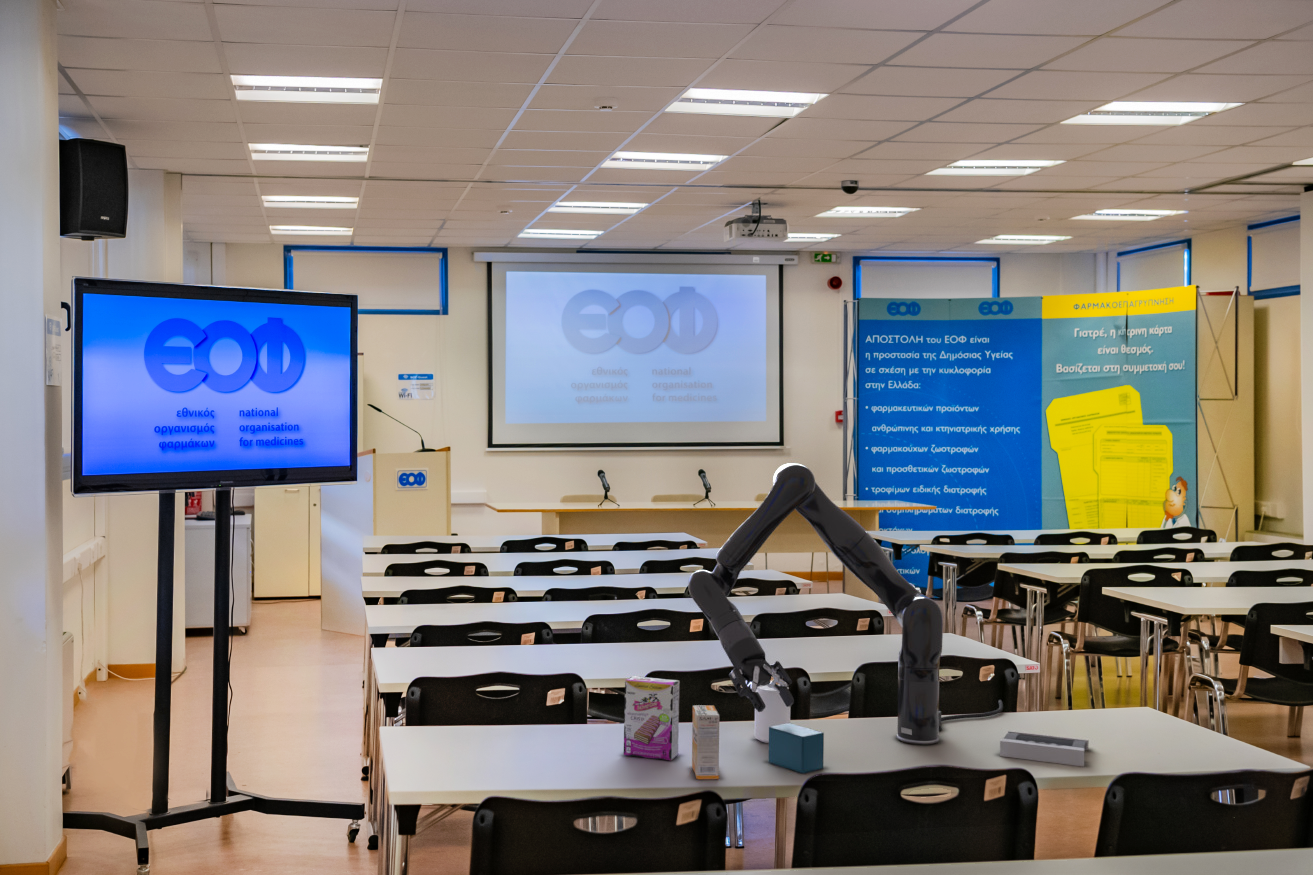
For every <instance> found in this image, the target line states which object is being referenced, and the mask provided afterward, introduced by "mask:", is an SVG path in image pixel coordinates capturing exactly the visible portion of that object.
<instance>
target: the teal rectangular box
mask: <svg viewBox="0 0 1313 875" xmlns="http://www.w3.org/2000/svg"><path fill="white" fill-rule="evenodd" d="M824 738H825V732H823V731H819V730H816V729H814V728H809V727H806V726H802V725H798V724H795V723H791V722H790V723H787V724H782V725H777V726H772V727H769V743H768V759H767V760H768V763H769V764H772V765H774V766H778V767H781V768H785V769H787V770H790V771H794V772H797V773H799V774H802V775H803V774H807V773H811V772H814V771H819V770H823V769H824V753H825V752H824V751H825V748H824V747H825V746H824V744H825V743H824V742H825V741H824V740H825V739H824Z"/></svg>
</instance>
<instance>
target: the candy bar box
mask: <svg viewBox="0 0 1313 875" xmlns="http://www.w3.org/2000/svg"><path fill="white" fill-rule="evenodd" d="M680 684H681V682H680V680H678V679H666V678H658V677H647V676H639V675H638V676H636V675H632V676H630V677H628V678H626V679H625V680H624V716H623V723H624V725H623V755H624V756H630V757H639V758H647V759H655V760H663V761H673V760H674V759H675V758H677V756H678V755H679V731H680V730H679V724H680V723H679V722H680V686H681V685H680Z"/></svg>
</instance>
